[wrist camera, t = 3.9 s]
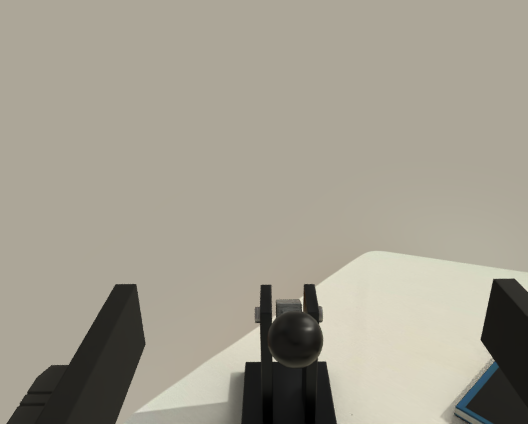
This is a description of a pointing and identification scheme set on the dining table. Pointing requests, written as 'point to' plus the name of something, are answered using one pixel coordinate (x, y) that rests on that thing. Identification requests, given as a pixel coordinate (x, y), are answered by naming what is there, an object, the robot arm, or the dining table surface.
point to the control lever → (294, 335)
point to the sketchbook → (492, 401)
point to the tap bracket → (286, 378)
